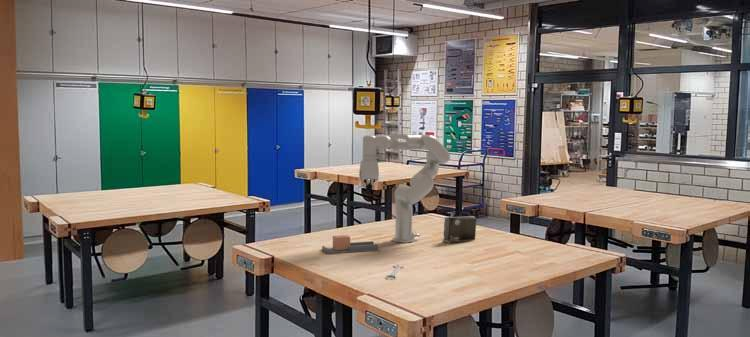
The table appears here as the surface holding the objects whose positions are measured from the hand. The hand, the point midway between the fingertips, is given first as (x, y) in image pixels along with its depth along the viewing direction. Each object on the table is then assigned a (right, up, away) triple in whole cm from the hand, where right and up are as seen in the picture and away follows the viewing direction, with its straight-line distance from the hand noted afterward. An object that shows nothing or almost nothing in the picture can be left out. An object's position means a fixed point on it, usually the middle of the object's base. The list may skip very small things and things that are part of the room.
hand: (368, 191), depth 321 cm
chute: (-10, -30, -13) cm, 34 cm away
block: (-14, -29, -15) cm, 36 cm away
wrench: (+12, -35, -55) cm, 66 cm away
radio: (+52, -29, +15) cm, 61 cm away
